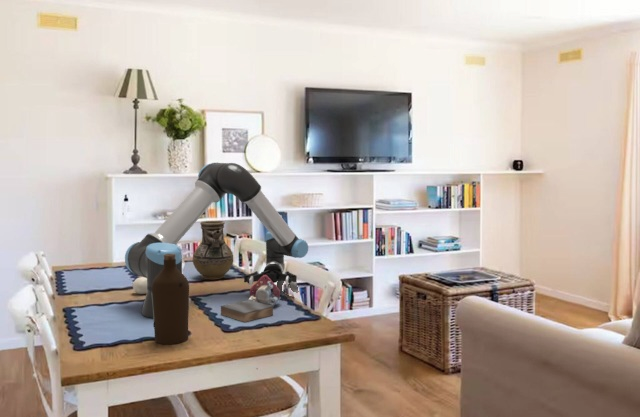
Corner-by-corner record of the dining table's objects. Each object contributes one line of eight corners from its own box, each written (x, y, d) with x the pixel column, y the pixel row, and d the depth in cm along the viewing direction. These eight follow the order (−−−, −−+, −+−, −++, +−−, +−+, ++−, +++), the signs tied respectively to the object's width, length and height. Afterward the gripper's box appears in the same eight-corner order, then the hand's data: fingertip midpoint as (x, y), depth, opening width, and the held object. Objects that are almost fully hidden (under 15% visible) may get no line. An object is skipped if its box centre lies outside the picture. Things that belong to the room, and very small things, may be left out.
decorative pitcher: (190, 274, 265) (189, 220, 263) (228, 271, 271) (228, 218, 269) (196, 284, 245) (195, 225, 243) (238, 281, 251) (237, 223, 249)
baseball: (141, 291, 232) (141, 274, 231) (155, 293, 228) (154, 276, 228) (128, 294, 226) (128, 277, 225) (142, 296, 222) (141, 279, 222)
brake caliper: (284, 294, 214) (279, 273, 206) (279, 318, 206) (273, 297, 198) (255, 293, 216) (248, 272, 208) (248, 317, 208) (241, 296, 200)
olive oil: (195, 335, 173) (194, 252, 171) (181, 346, 163) (179, 258, 161) (162, 333, 175) (160, 251, 173) (146, 344, 165) (143, 257, 163)
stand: (244, 322, 187) (244, 313, 187) (220, 314, 196) (220, 305, 196) (272, 315, 195) (272, 306, 195) (249, 308, 204) (249, 299, 204)
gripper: (303, 281, 238) (302, 292, 216) (242, 281, 238) (235, 293, 216) (303, 262, 237) (301, 273, 216) (242, 263, 237) (234, 273, 216)
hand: (268, 283), depth 216 cm, fingers open, 13 cm apart
